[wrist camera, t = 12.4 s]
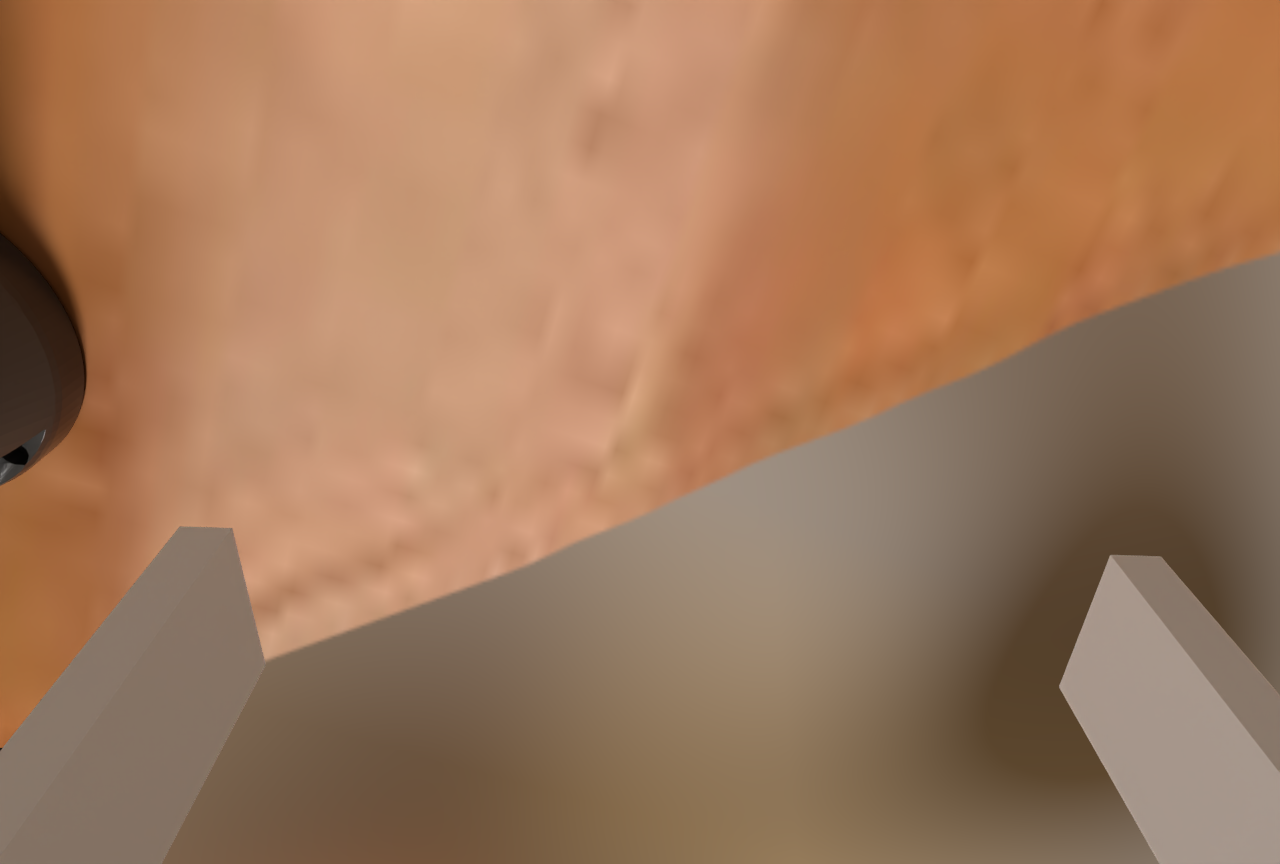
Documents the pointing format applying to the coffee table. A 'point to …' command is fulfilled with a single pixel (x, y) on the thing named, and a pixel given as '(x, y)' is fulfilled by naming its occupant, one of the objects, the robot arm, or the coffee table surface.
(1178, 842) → the robot arm
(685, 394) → the coffee table surface
